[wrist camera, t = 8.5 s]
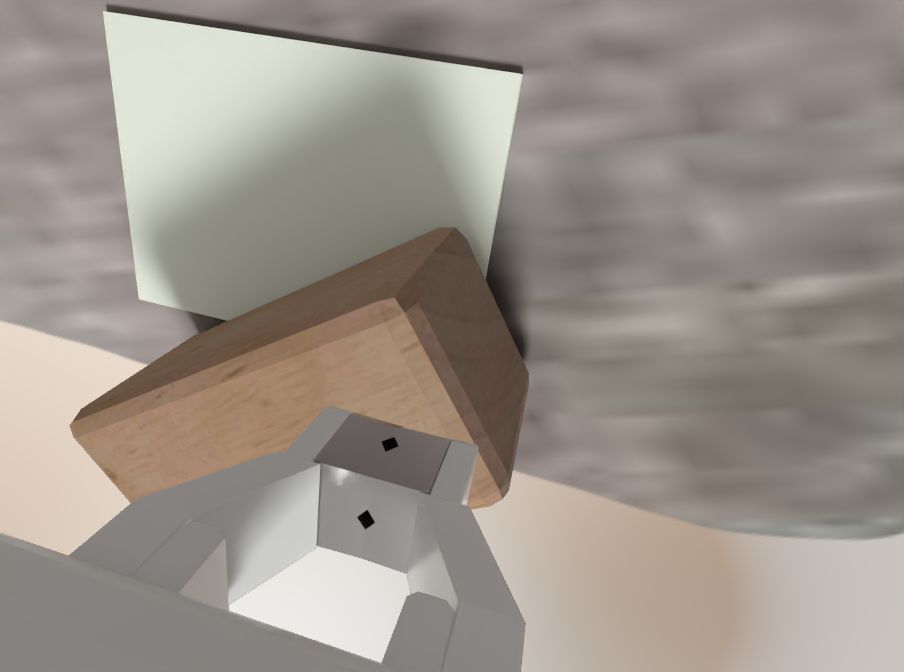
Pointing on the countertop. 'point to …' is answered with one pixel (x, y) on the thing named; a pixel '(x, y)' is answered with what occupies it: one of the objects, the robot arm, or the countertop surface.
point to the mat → (293, 158)
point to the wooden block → (326, 374)
